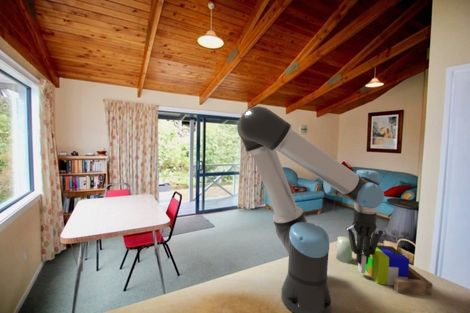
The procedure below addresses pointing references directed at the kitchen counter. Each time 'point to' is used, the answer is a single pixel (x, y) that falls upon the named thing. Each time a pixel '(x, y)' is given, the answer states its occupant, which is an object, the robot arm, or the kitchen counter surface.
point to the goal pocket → (413, 284)
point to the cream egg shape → (344, 250)
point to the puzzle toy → (387, 265)
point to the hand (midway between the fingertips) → (361, 271)
